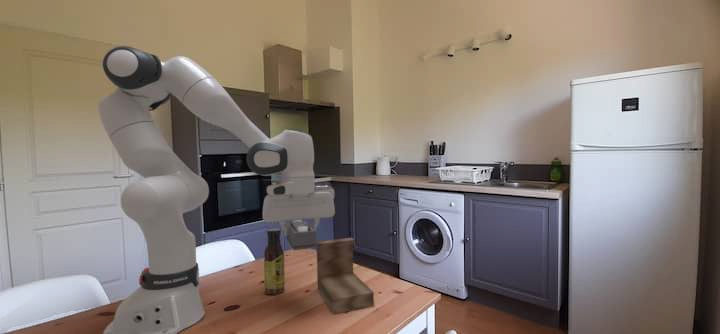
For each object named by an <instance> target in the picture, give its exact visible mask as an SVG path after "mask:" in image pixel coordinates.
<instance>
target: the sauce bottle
mask: <svg viewBox="0 0 720 334" xmlns="http://www.w3.org/2000/svg"><path fill="white" fill-rule="evenodd" d="M266 231H267V232H266V233H267V234H266V235H267V246H266V247H265V249H264V255H263V256H264V261H263V262H264V263H263V265H264V267H263V269H264V272H263V273H264V274H263V275H264V288H265V290H264V291H265V294H268V295H279V294H280V293H283V292H284V291H285V283H286V282H285V280H286V279H285V276H286V275H285V252H284V250H283V247H282V244H281V238H280V237H281V229H280V228H270V229H267V230H266Z"/></svg>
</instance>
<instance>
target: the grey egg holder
mask: <svg viewBox="0 0 720 334" xmlns="http://www.w3.org/2000/svg"><path fill="white" fill-rule="evenodd" d="M285 228H286V229H289V230H290V233H289V234H290V236H288V237H285V239H287V242H288V243H289V245H290V247H291V248H292V250H293V251H300V250H301V251H302V250H308V249H309V250H310V249H317V230H316V231H315V230H314V229H313V228H312V226H311V225H310V224H309V223H308V222H307V221H306V220H305V221H303V219H302V220H292V222H286V225H285Z"/></svg>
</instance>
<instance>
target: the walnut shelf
mask: <svg viewBox="0 0 720 334" xmlns="http://www.w3.org/2000/svg"><path fill="white" fill-rule="evenodd" d="M353 245H356V242H355V238H353V237H345V238H338V239H329V240H322V241H316V271H317V272H316V273H317V275H316V276H317V277H316V280H317V290H318V292H319V293H320V295H321V297H322V298H323V300H324V302H325V303H326V305H327V306H328V308H329V310H330V311H331V313H332V314H333V315H335V314H341V313H347V312H352V311H356V310H362V309H364V308H371V307H375V301H374V299H375V298H374V295H375V293H374V291H373V290H372V289H371V288H370V287H369V286H368V285H367V284H366V283H365V282H363V280H361V278H360V277H358V275H356V274H355V272H354V250H353V249H354V246H353Z"/></svg>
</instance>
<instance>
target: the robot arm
mask: <svg viewBox="0 0 720 334" xmlns="http://www.w3.org/2000/svg"><path fill="white" fill-rule="evenodd" d="M102 68H103V71H104V74H105V76H106V77H107V78H108V80H109V81H110V82H111V83H112V84H113V85H115V86H116V87H117V88H116V90H115V91H114V92H112V93H111V92H110V93H109V94H106V95H104V96H103V97H102V98H101V99H100V100H99V102H98V106H97V110H98V113H99V116H100V117H99V118H100V120H101V123H102V126H103V127H104V130H105V132H106V134H107V136H108V138H109V140H110V141H111V143H112V144H113V147H114V148H115V150H116V152H117V154H118V155H119V156H118V157H119V158H120V159H121V161H122V163H123V164H124V166H126V167H127V168H128V169H129V170H130V171H133V172H135V173H136V174H138V175H140V176H141V177H143V178H141V179H138V180H136V181H134V182H131V183H130V184H128V185H127V186H126V187H125V188H124V189H123V190H122V193H121V196H120V206H121V209H122V211H123V213H124V214H125V215H126V216H127V217H128V218H129V219H130V220H133V221H134V222H135V223H137V225H138V227H140V230H141V231H142V234H143V236H144V239H145V243H146V250H147V263H148V267H145V268H144V269H143V270H142V271H141V275H140V276H139V279H138V281H139V282H138V285H140V286H139V287H138V288H137V289H136V290H134V291H133V292H132V293H131V294H130V295H128V296H127V297H126V298H125V299H123V300H122V301H121V303H120V304H119V305H118V306H117V309H116V311H115V313H114V318H113V320H112V321H111V322H110V323H109V324H108V325H107V326H106V327H105V328H104V329H103V332H102V334H178V333H179V332H181V331H183V330H185V329H186V328H189V327H191V326H194V325H195V324H196V323H198V322H199V321H200V320H202V318H203V317H204V316H205V313H206V311H205V308H204V306H203V302H202V299H201V295H200V290H199V289H200V288H199V284H200V268H199V263H197V246H196V245H197V244H196V236H195V235H194V233H193V232H192V231H190V230H189V229H188V228H187V226H186V223H185V221H184V215H183V214H185V213H188V212H192V211H194V210H195V209H197V208H199V207H200V206H201V205H203V204H204V203H205V202H206V201H207V200H208V198H209V194H210V189H209V185H208V182H207V181H206V180H205V179H204V178H203V177H202V176H200V175H198V174H196V173H195V172H193V171H192V169H190V168H189V167H188V166H187V165H186V164H185V163H184V161H183V160H181V159H180V157H178V156H177V154H176V153H175V152H174V151H173V149H172V148H171V146H170V145H169V144H168V142H167V140H166V139H165V137H164V135H163V133H162V131H161V130H160V128H159V127H158V124H157V123H156V122H155V119H154V118H153V116H152V114H151V112H152V111H154V110H156V109H158V108H160V106H163V105H164V104H166V103H167V102H168V101H170V99H172V97H173V96H174V97H175V98H176V99H178V101H179V102H180V103H182V105H183V106H184V107H185V108H186V109H187V110H189V111H190V112H191V113H192V114H193V115H195V116H196V117H198V118H199V119H200V120H202V121H204V122H206V123H209V124H211V125H214V126H217V127H220V128H222V129H224V130H227V131H228V132H230V133H232V134H233V135H235V136H236V137H237V138H238V139H239V140H241V142H242V143H243V144H245V145H246V147H248V148H249V149H248V151H247V154H246V162H247V163H246V164H247V166H248V168H249V169H250V170H251V172H252V173H254V174H256V175H259V176H262V177H263V176H264V177H266V176H267V177H268V176H278V175H282V181H279V182H275V183H274V184H271V185H268V186H267V187H266V193H267V195H266V196H264V199H263V206H262V219H263V221H264V222H265V223H277V222H279V225H280V227H281V228H282V230H283V236H284V237H285V238H286V237H288V236H290V234H289V233H290V230H289V229H286V223H287V222H290V221H295V220H302V221H303V220H310V219H311V220H312V221H313V222H314V223H313V225H312V226H311V227H312V228H313V229H314V230H315V231H316V232H317V227H318V226H319V224H320V221H321V220H320V219H321V218H322V219H324V218H325V219H326V218H332V217H334V216H335V214H336V210H335V209H336V207H335V202H334V200H335V189H334V188H333V187H332V186H330V185H326V184H325V185H315V181H316V180H315V177H316V176H315V172H314V164H315V150H314V149H315V148H314V142H313V137H312V136H311V134H310V133H308V132H306V131H303V130H300V129H295V128H287V129H284V130H283V131H282V132H281V133H279V134H278V135H276V136H274V137H269V136H267V135H266V133H264V132H263V131H262V130H261V129H260V128H259V127H258V126H257V125H256V124H255V123H254V122H253V121H252V120H250V118H249V117H247V116H246V114H245V113H244V112H243V110H242V109H241V108H240V107H239V106H238V104H237V103H236V102H235V101H234V99H233V97H231V95H230V94H229V92H227V91H226V89H225V88H224V87H223V86H222V85H221V84H220V82H219V81H218V80H217V79H215V77H213V75H212V74H211V73H210V72H208V71H207V70H206V69H205V68H203V67H202V66H201V65H199V64H198V63H197V62H196V61H194V60H192V59H191V58H189V57H187V56H183V55H182V56H181V55H177V56H174V57H171V58H169V59H168V60H167V61H161V60H160V58H159V57H158V56H157V54H154V53H153V54H152V53H149V52H145V51H143V50H141V49H139V48H135V47H132V46H125V45H121V46H116V47H113V48H112V49H110V50H109V51H107V53H105V55H104V57H103V60H102ZM150 111H151V112H150Z"/></svg>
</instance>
